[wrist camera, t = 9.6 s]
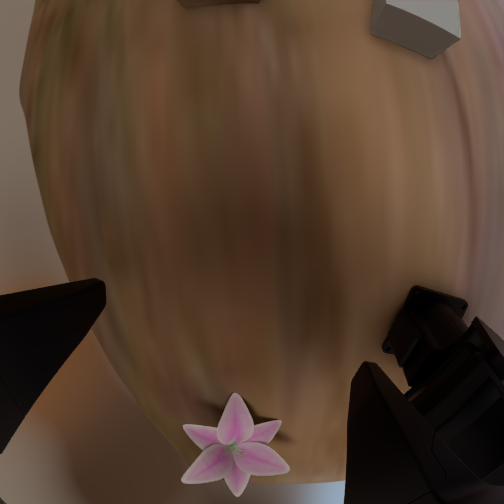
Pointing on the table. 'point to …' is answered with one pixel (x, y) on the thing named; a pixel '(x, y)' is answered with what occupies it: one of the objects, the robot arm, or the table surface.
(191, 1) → the walnut block
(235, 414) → the lily
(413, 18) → the slate-grey block
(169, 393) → the table surface
